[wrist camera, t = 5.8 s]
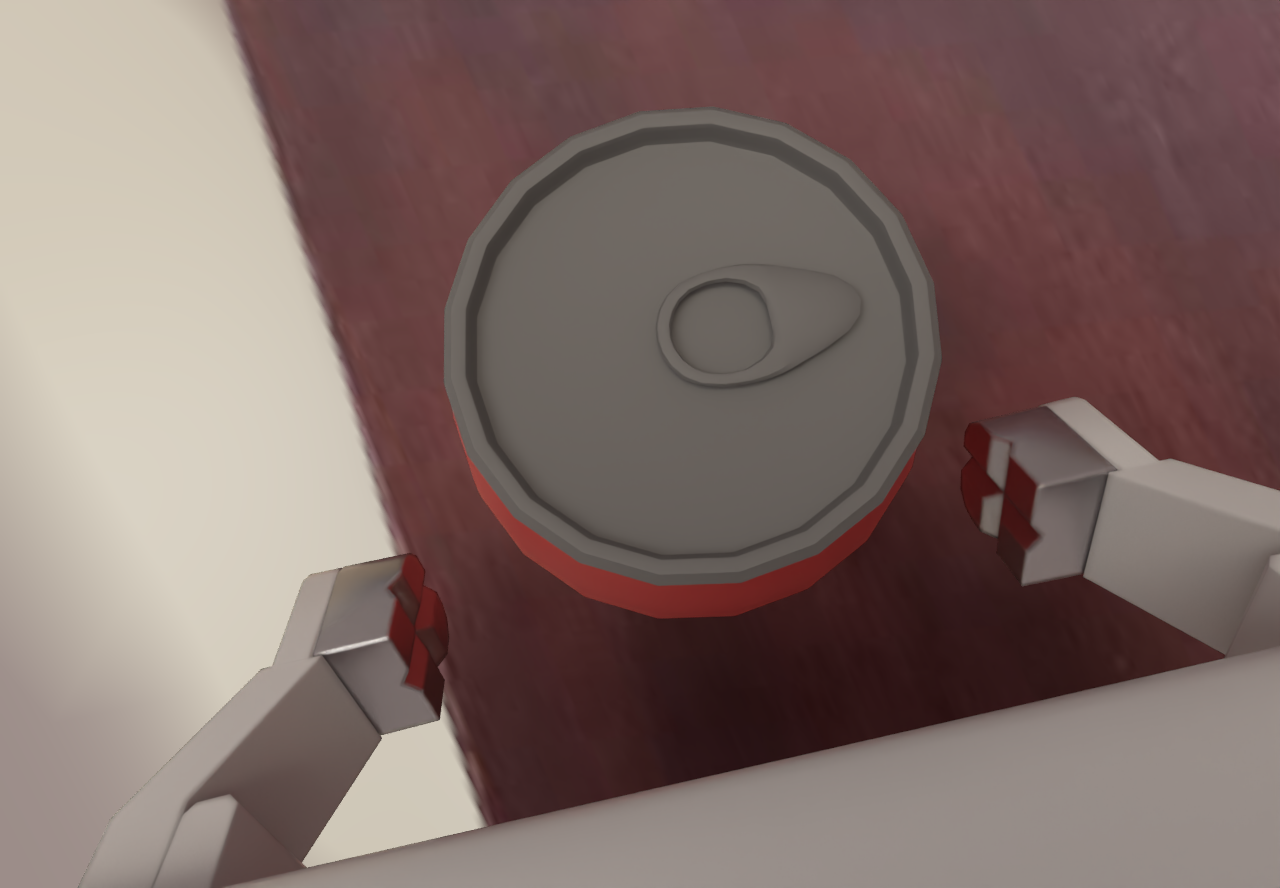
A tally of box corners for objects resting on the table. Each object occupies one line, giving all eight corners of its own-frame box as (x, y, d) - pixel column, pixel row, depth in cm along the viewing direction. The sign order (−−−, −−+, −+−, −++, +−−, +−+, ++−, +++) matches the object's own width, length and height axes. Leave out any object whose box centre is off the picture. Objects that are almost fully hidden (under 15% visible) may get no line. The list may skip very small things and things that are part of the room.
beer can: (828, 564, 19) (1071, 571, 7) (585, 612, 19) (439, 694, 7) (773, 331, 20) (907, 8, 8) (544, 378, 20) (358, 124, 9)
